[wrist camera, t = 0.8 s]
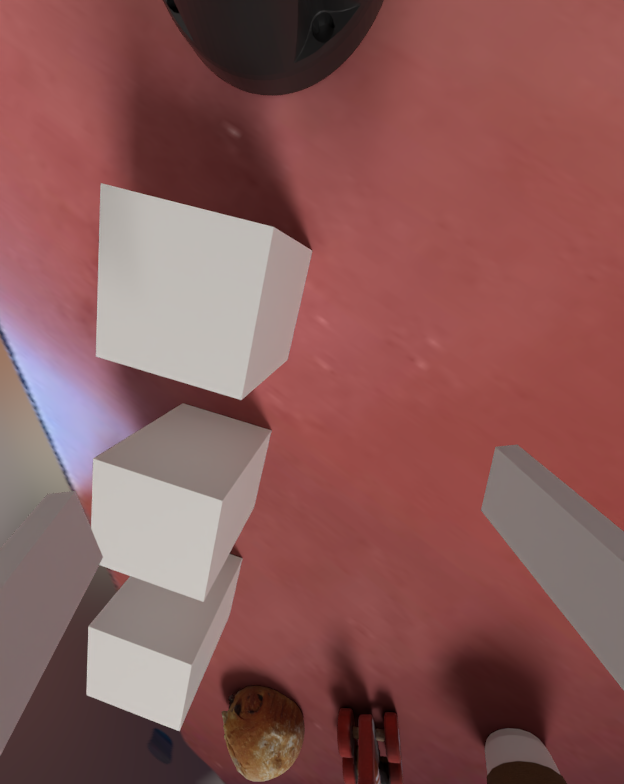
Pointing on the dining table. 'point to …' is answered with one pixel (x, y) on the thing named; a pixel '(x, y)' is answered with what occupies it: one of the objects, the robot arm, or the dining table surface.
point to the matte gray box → (157, 646)
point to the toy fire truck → (369, 749)
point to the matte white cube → (195, 292)
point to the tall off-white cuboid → (177, 497)
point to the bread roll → (262, 732)
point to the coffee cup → (519, 759)
